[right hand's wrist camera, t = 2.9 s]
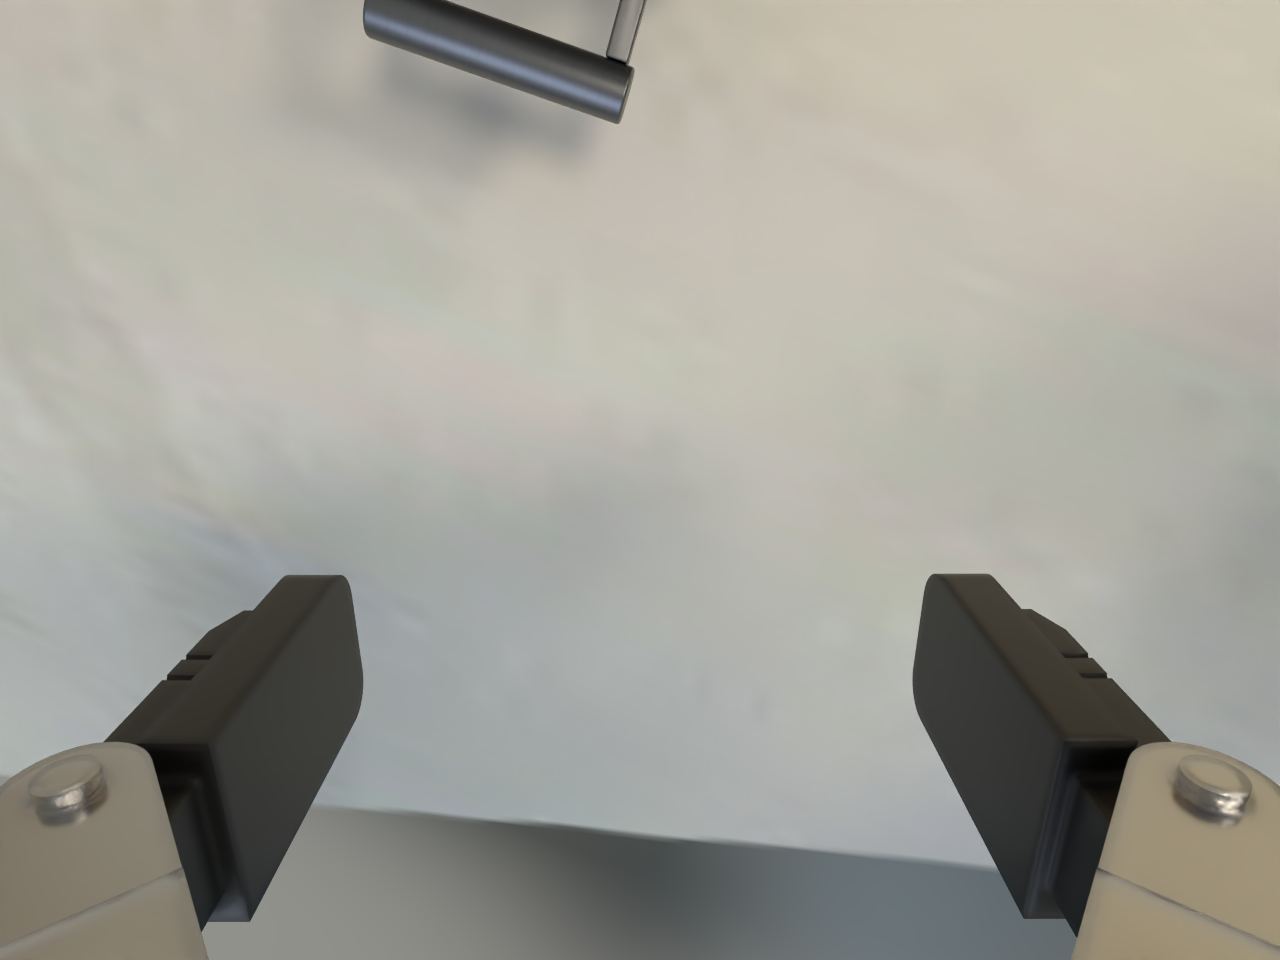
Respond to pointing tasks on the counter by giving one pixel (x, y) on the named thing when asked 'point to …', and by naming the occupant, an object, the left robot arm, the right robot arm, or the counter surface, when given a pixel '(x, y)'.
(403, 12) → the drawer
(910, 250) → the counter surface
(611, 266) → the counter surface
